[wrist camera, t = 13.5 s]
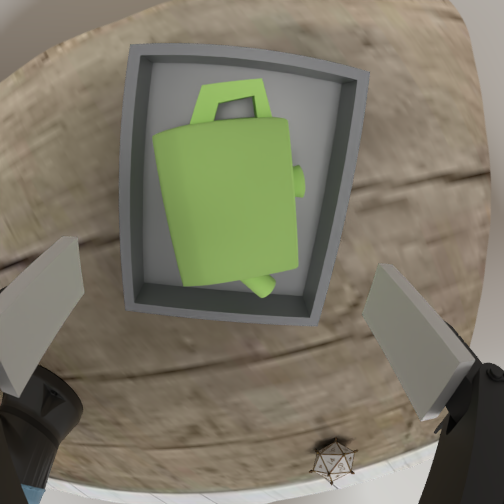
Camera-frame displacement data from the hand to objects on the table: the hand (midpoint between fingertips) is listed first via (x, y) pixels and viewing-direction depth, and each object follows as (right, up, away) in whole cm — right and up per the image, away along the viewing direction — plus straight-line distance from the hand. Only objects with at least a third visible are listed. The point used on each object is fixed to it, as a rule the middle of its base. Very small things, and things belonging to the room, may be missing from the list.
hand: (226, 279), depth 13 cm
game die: (+16, -35, +37) cm, 53 cm away
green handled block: (0, +7, +16) cm, 17 cm away
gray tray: (-1, +8, +16) cm, 18 cm away
